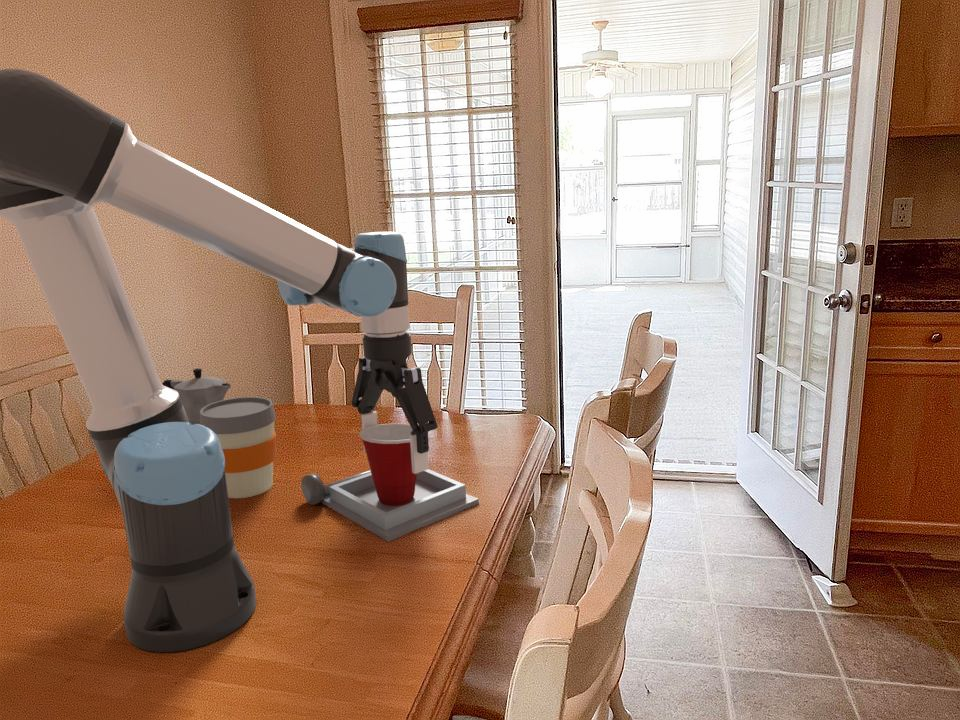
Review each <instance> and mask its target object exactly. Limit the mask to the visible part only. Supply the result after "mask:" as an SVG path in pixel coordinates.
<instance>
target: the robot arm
mask: <svg viewBox="0 0 960 720" xmlns="http://www.w3.org/2000/svg"><path fill="white" fill-rule="evenodd" d="M101 203H106V204H108V205H111V206H112V207H115V208H118V209H119V210H122V211H123V212H126V213H128V214H130V215H133V216H134V217H137V218H139V219H142V220H143V221H146V222H148V223H150V224H152V225H154V226H156V227H160V228H161V229H164V230H166V231H168V232H170V233H173V234H174V235H177V236H179V237H181V238H183V239H186V240H188V241H189V242H190V241H191V242H192V243H195V244H197V245H199V246H201V247H203V248H205V249H207V250H209V251H212V252H215V253H216V254H219V255H222V256H223V257H226V258H228V259H229V260H232V261H234V262H236V263H239V264H241V265H243V266H245V267H248V268H249V269H253V270H254V271H257V272H258V273H261V274H262V275H263V274H264V275H266V276H268V277H270V278H272V279H274V280H276V281H277V287H278V291H279V294H280V296H281V299H282V300H283V301H284V303H285V304H286V305H289V306H291V307H294V306H295V307H296V306H305V307H307V306H308V305H315V304H316V305H319V304H320V305H323V306H327V307H330V308H332V309H337V310H340V311H343V312H347V313H349V314H352V315H354V316H356V317H360V329H361V332H362V333H364V335H362V349H363V350H362V351H363V357H362V356H361V357H359V358H358V373H357V375H356V381H355V385H354V390H353V394H352V399H351V406H352V408H354V409H355V408H356V409H357V411H358V413H359V415H360V424H361V430H362V429H364V428H366V427H370V426H374V425H379V423H378V422H379V421H378V419H379V418H378V411H376V410H377V409H378V408H377V406H376V405H377V403H378V401H379V399H380V397H381V396H382V393H383V391H384V390H385V391H387V393H390V395H392V397H393V398H395V399H396V400H397V402H398V404H399V405H400V407H401V409H402V412H403V414H404V416H405V418H406V419H407V422H408V424H410V426H411V428H412V430H413V431H412V432H411V433H410V446H411V462H412V473H414V474H416V473H419V472H422V471H425V470H427V469H429V470H430V465H429V464H430V463H429V450H430V445H429V444H430V443H429V442H430V441H429V432H430V431H434V430H437V429H438V424H437V421H436V416H435V415H434V411H433V409H432V406H431V403H430V400H429V396H428V394H427V391H426V388H425V385H424V383H423V375H422V370H421V369H422V368H420V367H419V366H416V367H412V368H410V367H409V366H408V362H407V360H408V358H409V357H410V356H411V355H412V351H413V350H412V349H413V348H412V335H411V333H410V332H409V331H408V330H410V328H411V326H410V311H409V310H410V308H409V292H408V291H409V290H408V271H407V270H408V269H407V267H408V266H407V263H408V259H407V254H406V253H407V251H406V246H405V239H404V237H403V235H402V234H400V233H399V232H397V231H372V232H363V233H362V232H361V233H358V234H356V235H355V237H354V244H353V247H346V246H344V245H343V244H339V243H338V242H335V240H333V239H331V238H329V237H327V236H325V235H323V234H321V233H319V232H318V231H315V230H314V229H312V228H309V227H307V226H306V225H304V224H302V223H300V222H298V221H296V220H294V219H293V218H290V217H289V216H286V215H285V214H282V212H279V211H276V210H275V209H272V208H270V207H269V206H267V205H265V204H263V203H261V202H259V201H257V200H255V199H253V198H252V197H250V196H248V195H246V194H243V193H242V192H240V191H238V190H236V189H234V188H233V187H230V186H228V185H226V184H225V183H222V182H221V181H219V180H216V179H214V178H212V177H211V176H209V175H207V174H206V173H204V172H201V171H199V170H197V169H196V168H193V167H192V166H189V165H187V164H185V163H184V162H182V161H179V160H178V159H176V158H174V157H172V156H170V155H169V154H167V153H164V152H162V151H160V150H159V149H157V148H154V147H152V146H150V145H149V144H147V143H145V142H143V141H141V140H139V139H137V138H136V136H134V134H133V132H132V129H131V127H130V125H129V123H127V122H126V121H124V120H121V119H120V118H118V117H116V116H114V115H112V114H110V113H109V112H107V111H105V110H103V109H102V108H100V107H99V106H96V105H95V104H93V103H91V102H90V101H88V100H86V99H84V98H83V97H81V96H79V95H78V94H76V93H75V92H73V91H71V90H70V89H68V88H67V87H65V86H64V85H61V84H60V83H58V82H56V81H54V80H53V79H51V78H49V77H46V76H44V75H42V74H40V73H38V72H34V71H29V70H26V69H23V68H22V69H21V68H1V69H0V219H2V220H5V221H6V222H8V223H10V224H12V225H13V226H14V228H15V230H16V232H17V234H18V236H19V240H20V242H21V243H22V245H23V248H24V250H25V254H26V256H27V258H28V260H29V262H30V266H31V267H32V270H33V272H34V274H35V276H36V279H37V281H38V283H39V286H40V288H41V290H42V293H43V296H44V298H45V300H46V303H47V305H48V307H49V309H50V312H51V314H52V316H53V318H54V319H53V320H54V321H55V323H56V326H57V328H58V330H59V333H60V335H61V337H62V340H63V342H64V345H65V347H66V349H67V352H68V353H69V355H70V358H71V360H72V363H73V365H74V368H75V370H76V372H77V375H78V376H79V380H80V381H81V384H82V386H83V388H84V391H85V393H86V395H87V397H88V400H89V403H90V405H91V407H92V410H91V411H90V412H91V413H90V415H89V416H88V418H87V420H86V421H85V426H86V430H87V431H88V433H89V437H90V438H91V440H92V443H93V445H94V447H95V450H96V452H97V455H98V458H99V459H100V464H101V467H102V470H103V473H104V474H105V476H106V477H107V479H108V481H109V482H110V485H111V487H112V489H113V492H114V494H115V496H116V498H117V501H118V503H119V506H120V509H121V513H122V519H123V523H124V529H125V537H126V542H127V546H128V547H127V548H128V554H129V558H130V559H129V560H130V564H131V575H130V580H129V586H128V589H127V595H126V599H125V605H124V610H123V623H124V628H125V635H126V638H127V640H128V641H129V642H130V643H131V644H132V645H133V646H135V647H137V648H138V649H140V650H145V651H148V652H155V653H173V652H181V651H186V650H187V651H188V650H192V649H196V648H199V647H202V646H205V645H209V644H212V643H214V642H216V641H218V640H221V639H222V638H225V637H226V636H229V635H230V634H231V633H234V632H235V631H237V630H238V629H239V628H240V627H242V626H243V625H244V624H245V623H246V622H247V621H248V620H249V619H250V618H251V616H252V615H253V613H254V611H255V609H256V606H257V597H256V596H257V595H256V588H255V587H256V586H255V584H254V581H253V579H252V576H251V574H250V573H249V571H248V569H247V567H246V566H245V563H244V562H243V560H242V558H241V556H240V554H239V553H238V551H237V549H236V547H235V542H234V541H235V540H234V534H233V533H234V532H233V526H232V525H233V524H232V518H231V516H232V515H231V510H230V509H231V507H230V501H229V499H230V498H228V491H227V484H226V476H225V468H224V467H225V457H224V453H223V451H222V449H221V444H220V441H219V438H218V436H217V435H216V434H215V433H214V432H213V431H212V430H211V429H209V428H207V427H205V426H203V425H200V424H194V425H191V423H190V422H189V419H188V417H187V414H186V411H185V409H184V406H183V404H182V401H181V399H180V396H179V393H178V392H177V391H176V390H173V389H171V388H168V387H166V386H164V385H162V382H161V379H160V376H159V374H158V371H157V369H156V366H155V364H154V363H155V362H154V361H153V358H152V355H151V353H150V351H149V347H148V345H147V343H146V340H145V337H144V335H143V333H142V330H141V328H140V325H139V322H138V319H137V317H136V314H135V312H134V309H133V307H132V304H131V302H130V299H129V296H128V294H127V291H126V288H125V286H124V283H123V281H122V279H121V276H120V273H119V271H118V268H117V265H116V263H115V260H114V258H113V255H112V253H111V250H110V247H109V244H108V242H107V239H106V237H105V235H104V232H103V229H102V227H101V225H100V221H99V219H98V216H97V213H96V212H95V208H94V205H97V204H101ZM362 445H363V444H362ZM363 452H364V453H366V451H365V447H364V445H363Z"/></svg>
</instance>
